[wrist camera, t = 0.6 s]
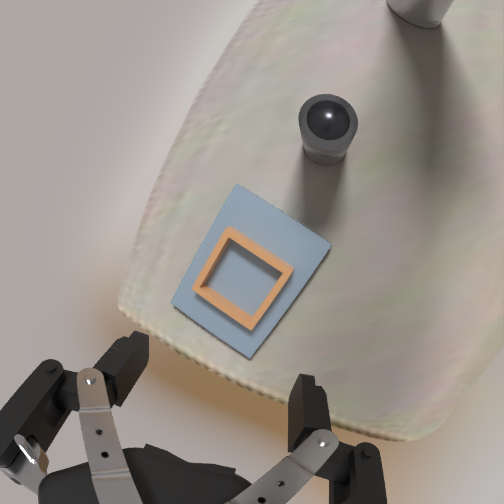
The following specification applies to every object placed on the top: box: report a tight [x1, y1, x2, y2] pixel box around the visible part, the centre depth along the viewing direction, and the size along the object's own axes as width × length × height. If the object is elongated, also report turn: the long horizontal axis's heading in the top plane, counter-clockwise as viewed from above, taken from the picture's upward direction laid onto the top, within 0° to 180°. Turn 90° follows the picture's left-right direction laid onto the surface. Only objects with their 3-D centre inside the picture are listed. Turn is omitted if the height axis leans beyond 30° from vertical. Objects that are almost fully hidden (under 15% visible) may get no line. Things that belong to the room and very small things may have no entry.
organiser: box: [170, 184, 332, 358], centre depth 33 cm, size 18×13×3 cm
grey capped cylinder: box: [299, 94, 358, 165], centre depth 25 cm, size 5×5×9 cm
